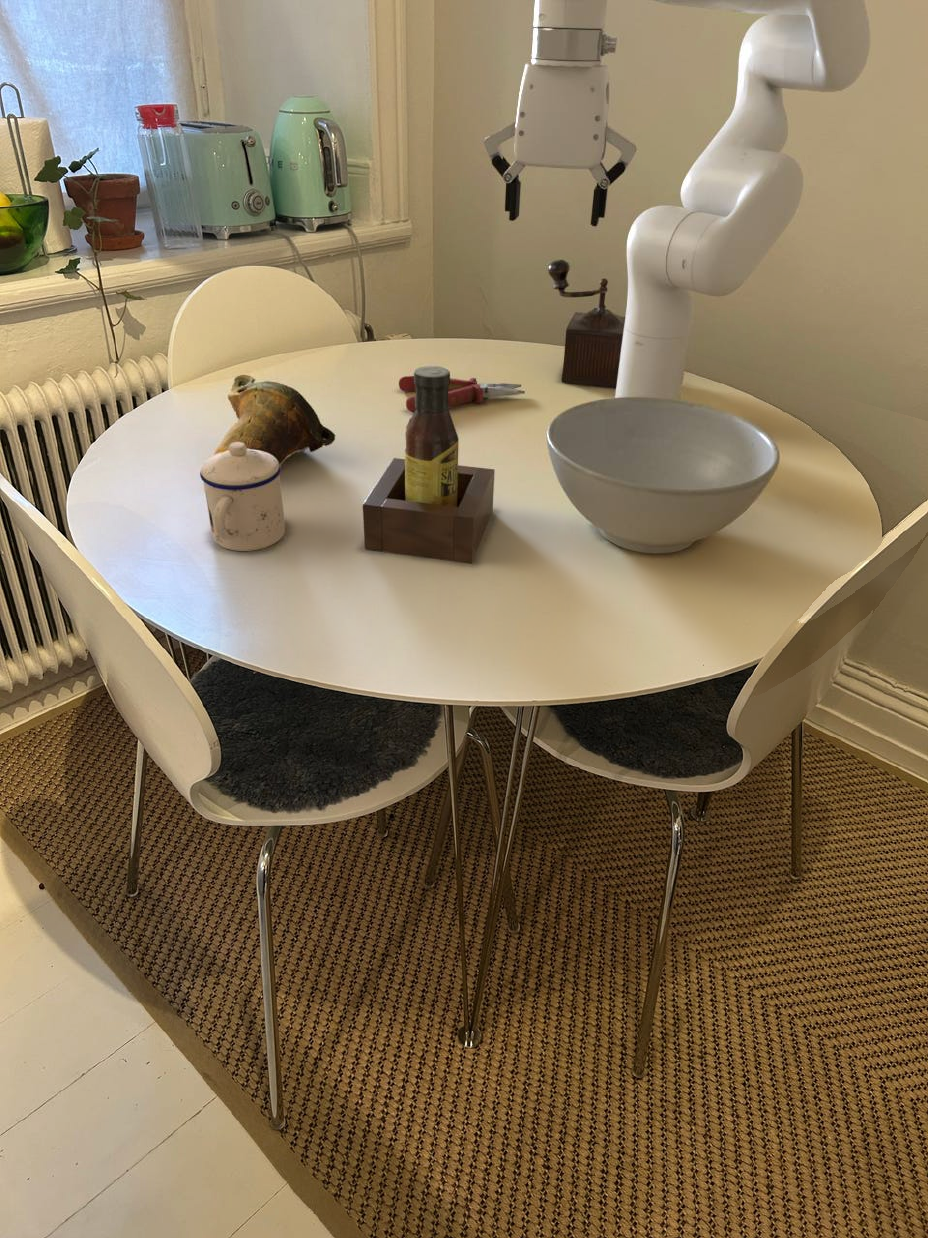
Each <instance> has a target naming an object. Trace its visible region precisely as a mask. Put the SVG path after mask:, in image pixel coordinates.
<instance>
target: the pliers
mask: <svg viewBox="0 0 928 1238" xmlns="http://www.w3.org/2000/svg"><path fill="white" fill-rule="evenodd" d="M398 387H399V389H400V391H402V392H416V387H415V383H414V375H404V376H402V377H400V379H399V380H398ZM521 387H522V384H519V383H506V382H505V383H504V382H482V383H481V382H480V383H478V381H477V378H476V377H471V378H469V380H465V379H458V378H452V377H450V384H449V387H448V404H449V408H453V407H456V406H459V405H460V406H461V405H463V404H467V403H470V402H473V403H475V404H482V403H483V401H484V398H499V397H507V396H514V395H523V394H525V393H526V391H525V390H522V389H518V388H521ZM415 402H416V395H411V396H409V397H408V398H406V400H405V407H406V410H408V411H409V412H411V413H414V412H415V411H416V408H415Z"/></svg>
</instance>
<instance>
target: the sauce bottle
mask: <svg viewBox="0 0 928 1238" xmlns="http://www.w3.org/2000/svg"><path fill="white" fill-rule="evenodd" d="M413 376H414V383H415V387H416V391H415V396H416V402H415V408H416V411H415V412H413V414H412V416H411V417H410V418H409V420H408V422H407V424H406V426H405V448H404V459H405V501H412V502H421V503H429V504H437V505H445V506H453V507H457V486H458V465H459V444H460V443H459V435H458V432H457V430H456V427H455V424H454V421H453V418H452V415H451V412H450V409H449V408H450V407H449V404H448V387H449V384H450V378H451V372H450V370H449V369H447V368H445V367H442V366H439V365H438V366H437V365H426V366H421V367H418V368H415V370H414V371H413Z"/></svg>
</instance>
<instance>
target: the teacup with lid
mask: <svg viewBox="0 0 928 1238" xmlns="http://www.w3.org/2000/svg"><path fill="white" fill-rule="evenodd" d="M213 455H214V454H213ZM213 455H212V456H210V457H209V458H207V459H206V460H205V461H204V462H203V463H202V465H201V468H200V472H199V476H200V479H201V480H202V481H203V487H204V493H205V499H206V505H207V512H208V518H209V523H210V530H211V535H212V538H213V541H214V542H215V543H216V544H217V545H219V546H220V547H222V548H224V549H227V550H231V551H236V552H237V551H238V552H251V551H252V552H253V551H258V550H262V549H265V548H268V547H272V546H274V545H275V544H276V543H278V542H279V541H281V539H282V538H283V537H284V535H285V533H286V523H285V522H286V521H285V513H284V505H283V504H284V503H283V495H282V486H281V478H280V474H281V471H282V468H281V465H280V464H279V462H278V461H277V459H276V458H275V457H274V456H272V455H271V454H269V453H266V452H263V451H259V450H252V449H247V447H246V445H245V444H244V443H242V442H234V443H232V444H230V446H229V450H227V451H225V452H222V453H219V454H216V455H214V456H213Z"/></svg>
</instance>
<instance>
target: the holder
mask: <svg viewBox="0 0 928 1238" xmlns="http://www.w3.org/2000/svg"><path fill="white" fill-rule="evenodd" d="M495 472H496V471H495V469H493V468H486V467H477V466H468V465H460V464H458V486H457V507H453V506H445V505H437V504H429V503H421V502H412V501H405V458H398V457H394V458H392V460H391V461H390V463H389V464H388V466H387V467H386V469H385V470H384V472H383V473H382V475H381V476H380V477H379V479H378V481H377V482H376V484H375V485H374V487H373V488H372V489H371V491H370V493H369V494H368V496H367V497H366V499H365V500H364V501H363V503H362V517H363V519H362V520H363V538H364V540H363V541H364V550H367V551H368V550H369V551H375V552H382V553H389V554H390V553H391V554H398V555H405V556H412V557H413V556H414V557H421V558H429V559H437V560H443V561H449V562H450V561H451V562H457V563H465V564H473V562H474V560H475V557H476V554H477V552H478V549H479V547H480V546H481V545H480V544H481V542H482V540H483V537H484V534H485V532H486V529H487V527H488V524H489V522H490V520H491V518H492V514H493V511H494V510H493V509H494V491H495V489H494V488H495Z"/></svg>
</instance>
